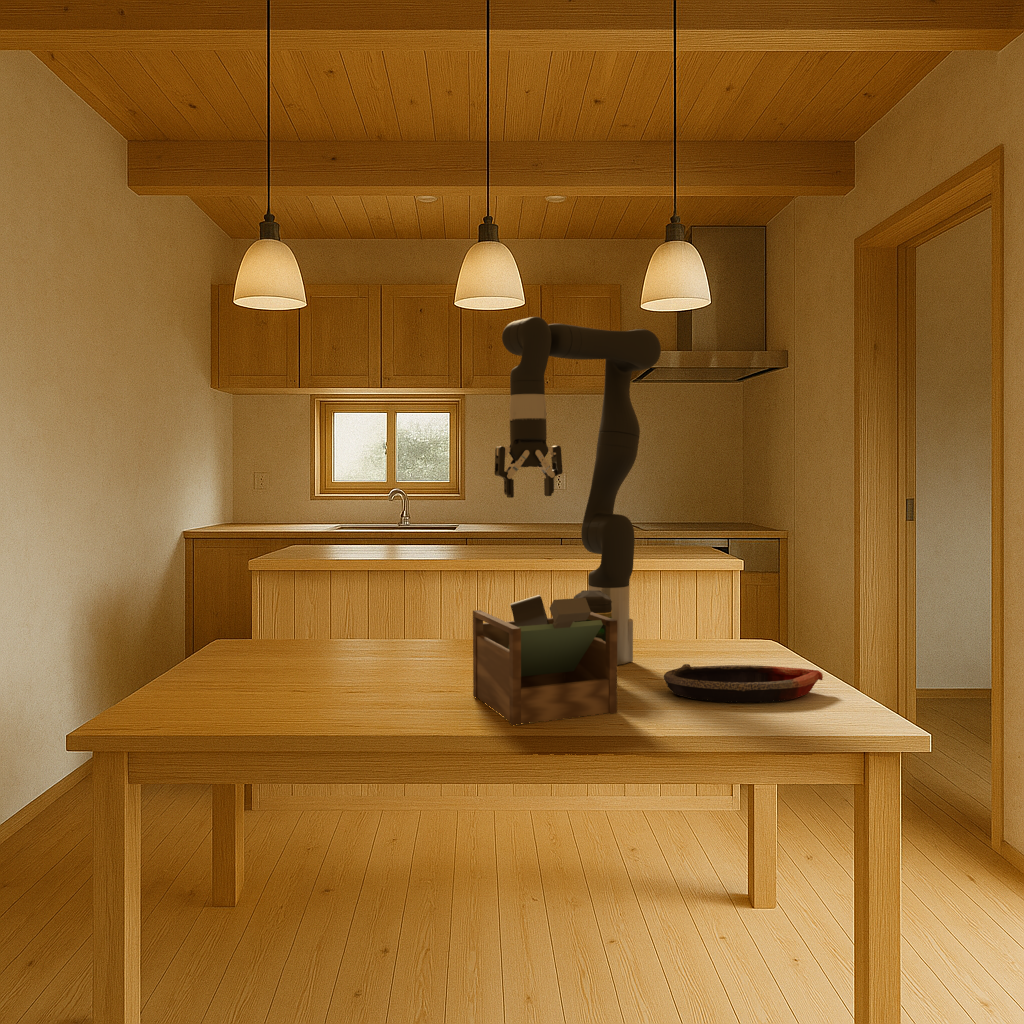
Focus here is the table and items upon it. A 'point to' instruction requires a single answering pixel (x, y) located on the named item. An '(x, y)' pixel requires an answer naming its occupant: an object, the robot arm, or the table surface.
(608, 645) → the wooden crate
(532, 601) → the phone stand
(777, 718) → the table surface
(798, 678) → the dish
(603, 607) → the coffee jar
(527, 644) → the trapdoor
